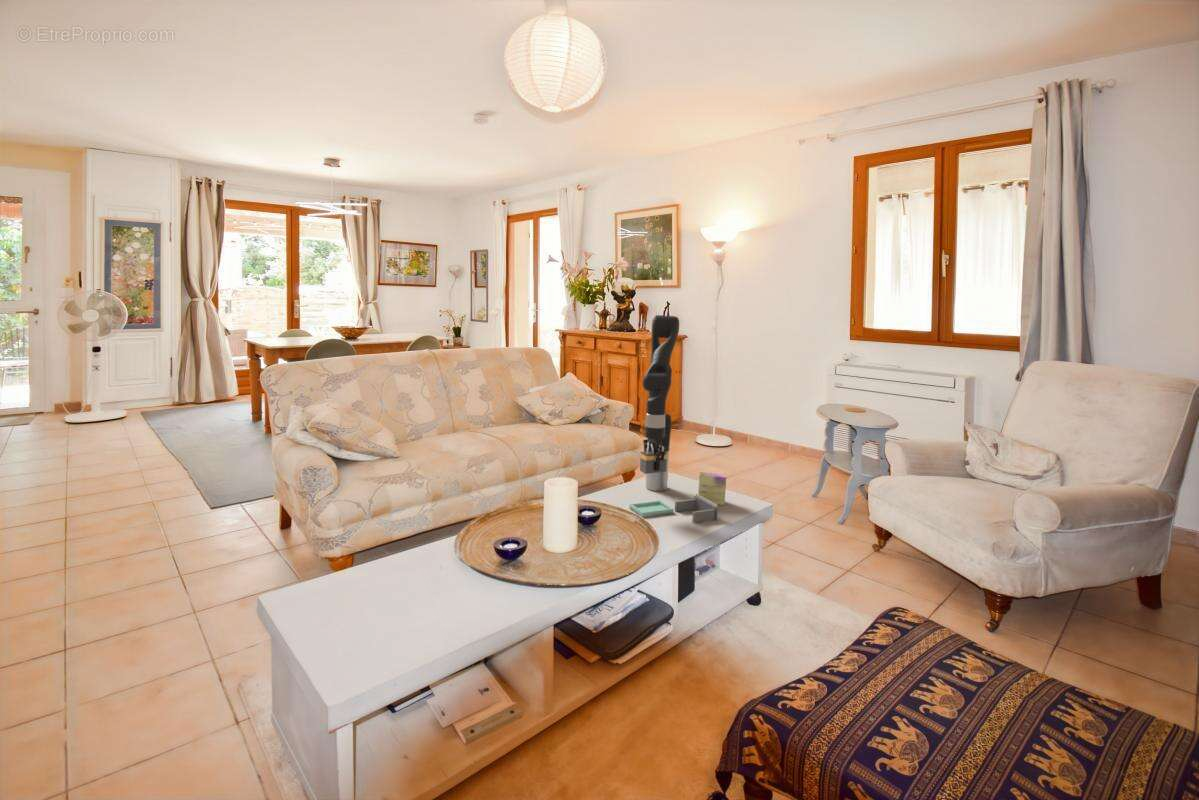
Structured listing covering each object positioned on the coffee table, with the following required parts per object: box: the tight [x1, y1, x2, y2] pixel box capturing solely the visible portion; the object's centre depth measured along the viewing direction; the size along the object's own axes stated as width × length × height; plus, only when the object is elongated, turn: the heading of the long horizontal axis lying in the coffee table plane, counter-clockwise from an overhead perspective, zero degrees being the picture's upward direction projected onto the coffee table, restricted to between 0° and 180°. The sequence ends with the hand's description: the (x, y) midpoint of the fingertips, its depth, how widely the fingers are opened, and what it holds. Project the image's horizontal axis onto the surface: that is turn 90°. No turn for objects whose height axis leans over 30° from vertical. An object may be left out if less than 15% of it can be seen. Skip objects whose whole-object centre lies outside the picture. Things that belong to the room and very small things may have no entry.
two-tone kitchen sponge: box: [639, 450, 667, 475], centre depth 227 cm, size 9×5×8 cm, turn 114°
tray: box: [629, 499, 675, 518], centre depth 230 cm, size 11×14×2 cm
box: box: [697, 471, 727, 506], centre depth 242 cm, size 10×6×12 cm, turn 84°
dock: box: [674, 493, 719, 524], centre depth 226 cm, size 14×10×6 cm
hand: (653, 468), depth 228 cm, fingers closed on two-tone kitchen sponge, 4 cm apart
